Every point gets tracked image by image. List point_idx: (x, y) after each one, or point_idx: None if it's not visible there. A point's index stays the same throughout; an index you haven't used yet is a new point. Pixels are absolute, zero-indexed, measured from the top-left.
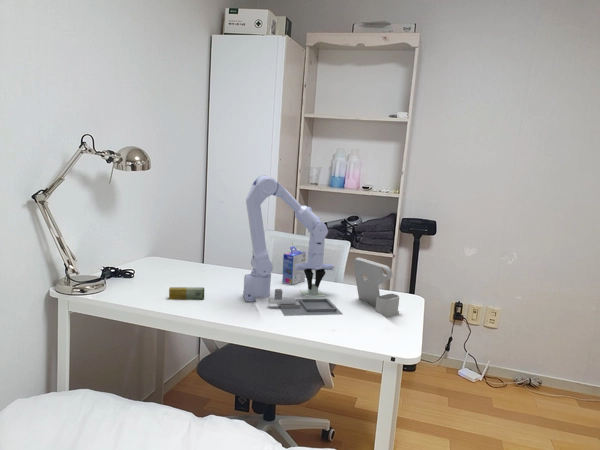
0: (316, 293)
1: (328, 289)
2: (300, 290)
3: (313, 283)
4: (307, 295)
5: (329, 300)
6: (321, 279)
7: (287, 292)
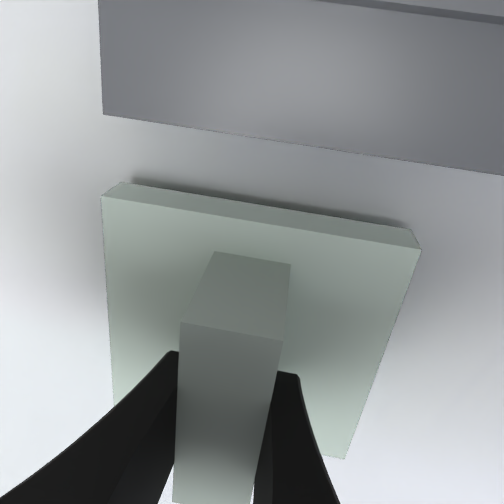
0: (227, 269)
1: (14, 450)
2: (337, 452)
3: (176, 495)
4: (362, 281)
5: (101, 14)
6: (29, 479)
7: (428, 484)
